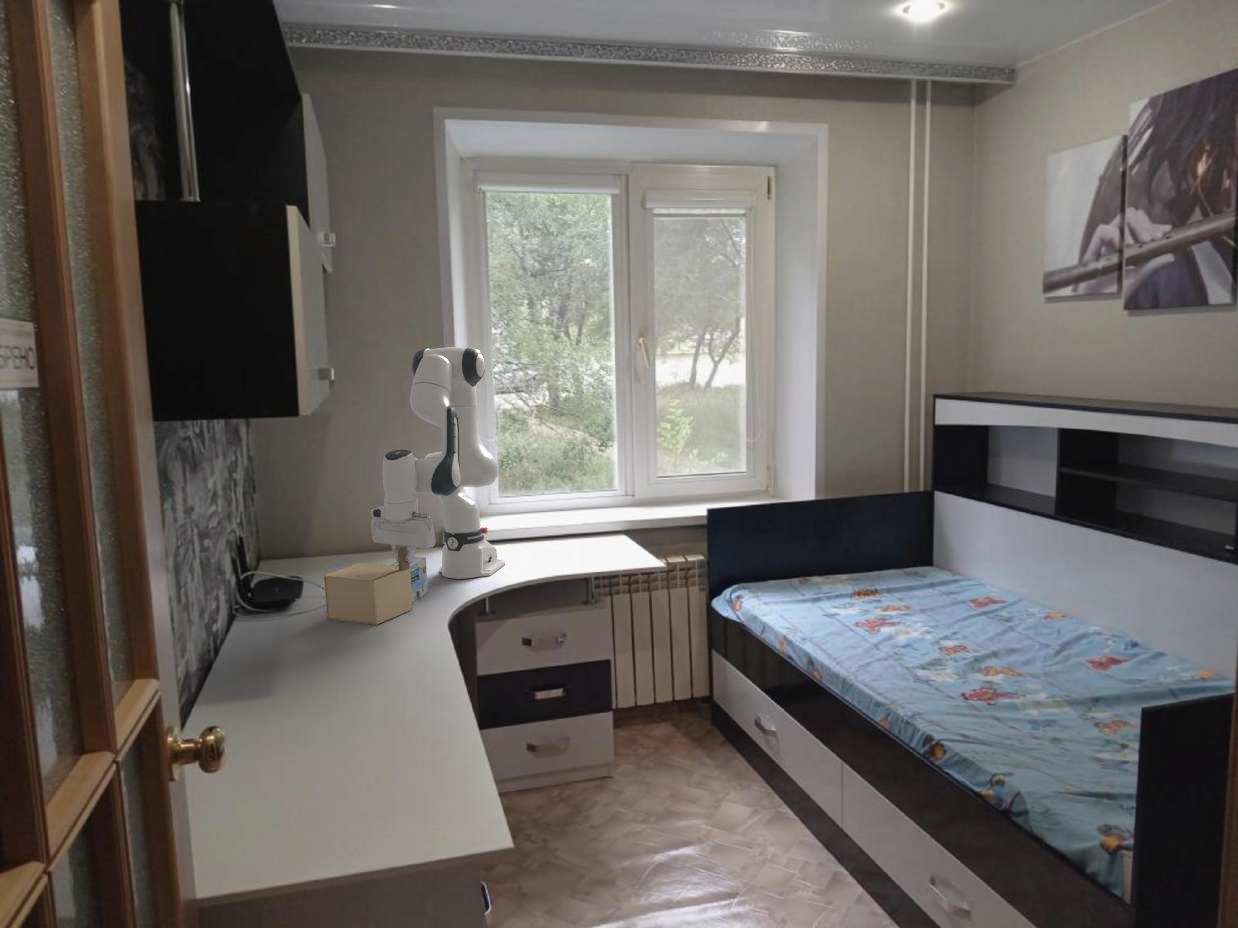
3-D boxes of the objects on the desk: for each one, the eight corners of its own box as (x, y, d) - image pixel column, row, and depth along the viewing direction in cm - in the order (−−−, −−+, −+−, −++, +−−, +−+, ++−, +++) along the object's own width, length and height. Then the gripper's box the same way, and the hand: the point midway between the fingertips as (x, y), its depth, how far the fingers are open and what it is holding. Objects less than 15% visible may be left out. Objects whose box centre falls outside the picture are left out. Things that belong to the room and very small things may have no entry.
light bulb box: (412, 603, 240) (410, 566, 239) (390, 602, 241) (388, 565, 240) (428, 592, 250) (426, 556, 249) (407, 591, 252) (405, 556, 250)
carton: (362, 603, 240) (359, 562, 239) (408, 609, 234) (406, 567, 232) (327, 618, 228) (324, 575, 226) (375, 625, 221) (372, 580, 220)
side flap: (410, 608, 234) (406, 546, 231) (413, 608, 233) (409, 546, 231) (374, 623, 221) (370, 558, 219) (378, 624, 221) (373, 558, 218)
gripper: (439, 511, 225) (442, 562, 227) (383, 506, 235) (386, 554, 237) (422, 516, 220) (425, 568, 222) (365, 510, 230) (369, 559, 232)
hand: (404, 561), depth 230 cm, fingers open, 2 cm apart
